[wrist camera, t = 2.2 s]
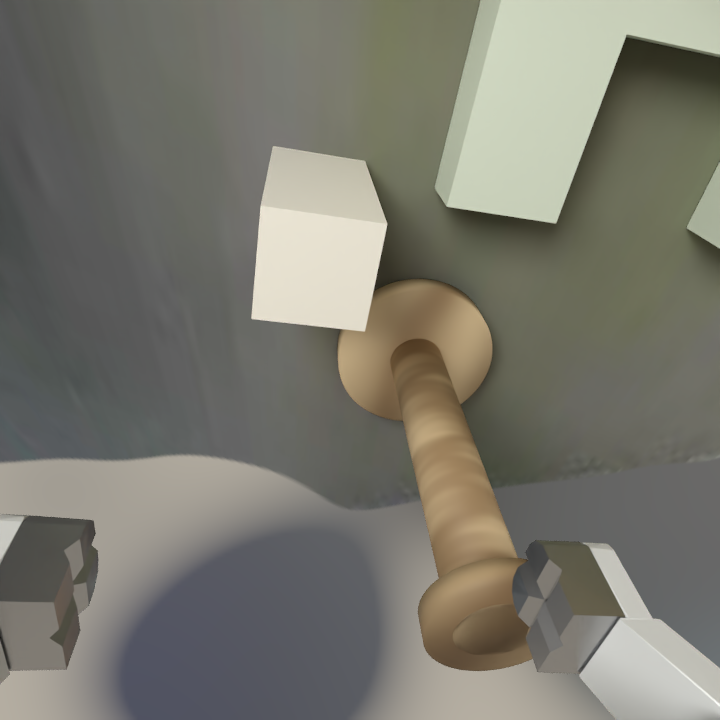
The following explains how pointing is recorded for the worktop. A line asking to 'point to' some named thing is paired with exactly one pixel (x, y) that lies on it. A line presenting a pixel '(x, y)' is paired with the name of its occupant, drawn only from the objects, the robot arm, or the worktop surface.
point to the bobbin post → (443, 462)
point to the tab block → (317, 241)
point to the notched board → (553, 98)
